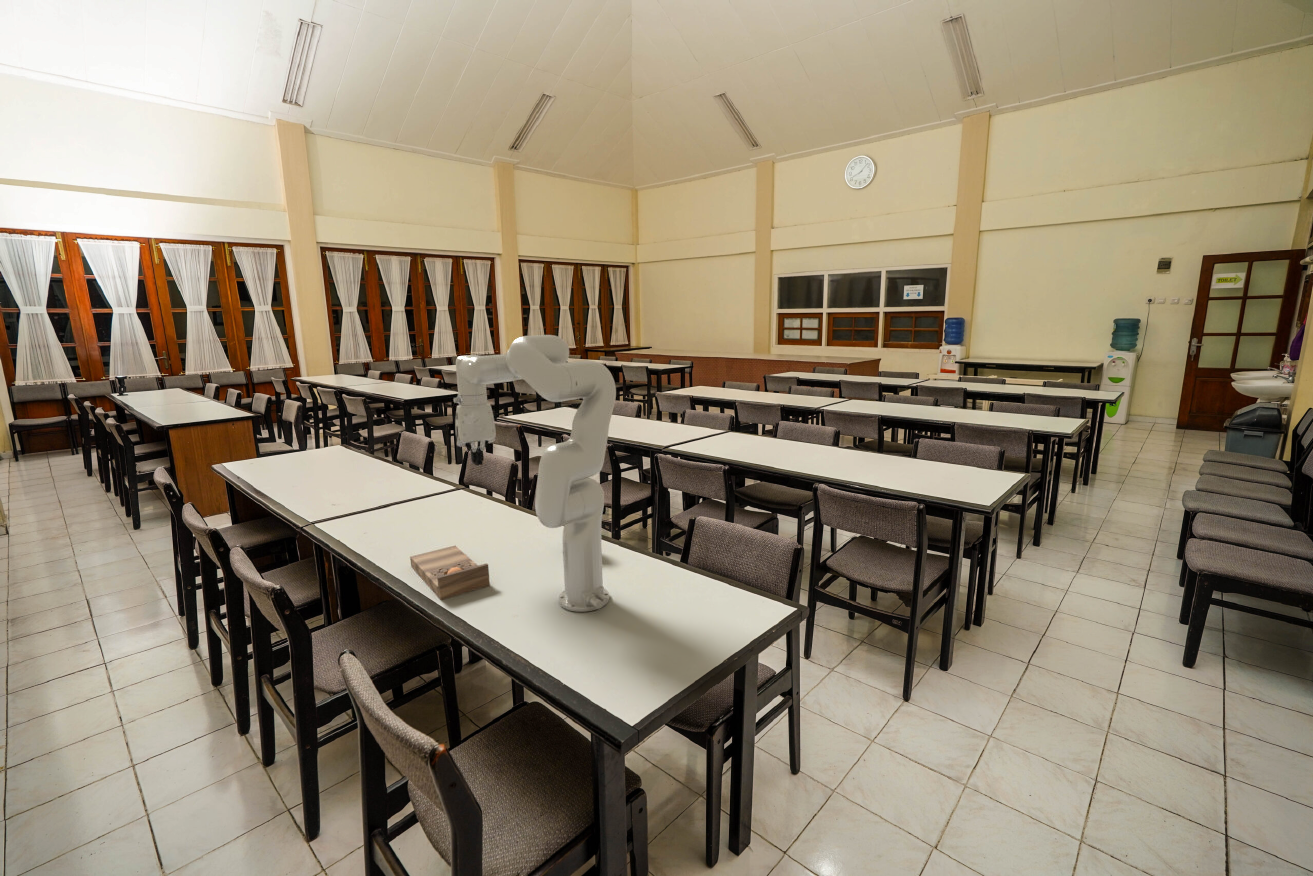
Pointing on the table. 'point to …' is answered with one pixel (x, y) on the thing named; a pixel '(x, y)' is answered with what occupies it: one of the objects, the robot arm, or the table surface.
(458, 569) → the ball
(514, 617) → the table surface
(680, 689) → the table surface
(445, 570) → the brown piece
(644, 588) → the table surface
